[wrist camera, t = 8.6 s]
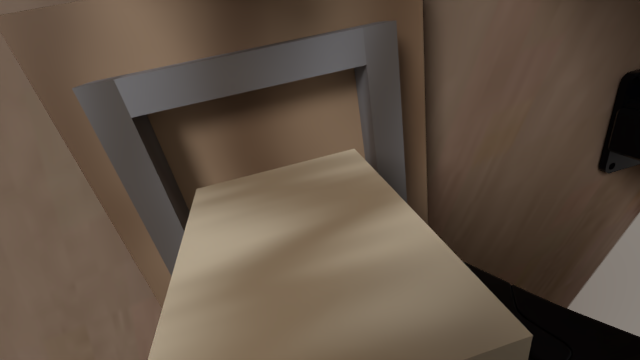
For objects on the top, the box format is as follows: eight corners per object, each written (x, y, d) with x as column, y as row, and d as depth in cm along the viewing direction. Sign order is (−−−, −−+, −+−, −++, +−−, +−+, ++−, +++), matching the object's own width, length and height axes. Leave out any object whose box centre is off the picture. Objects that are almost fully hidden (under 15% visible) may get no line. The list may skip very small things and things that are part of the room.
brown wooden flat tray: (391, -46, 13) (445, -73, 10) (408, 247, 21) (443, 292, 17) (38, 19, 12) (-50, 14, 8) (193, 313, 19) (182, 378, 15)
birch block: (354, 148, 10) (532, 334, 4) (370, 266, 12) (499, 502, 6) (196, 189, 9) (112, 484, 3) (244, 304, 12) (246, 607, 6)
